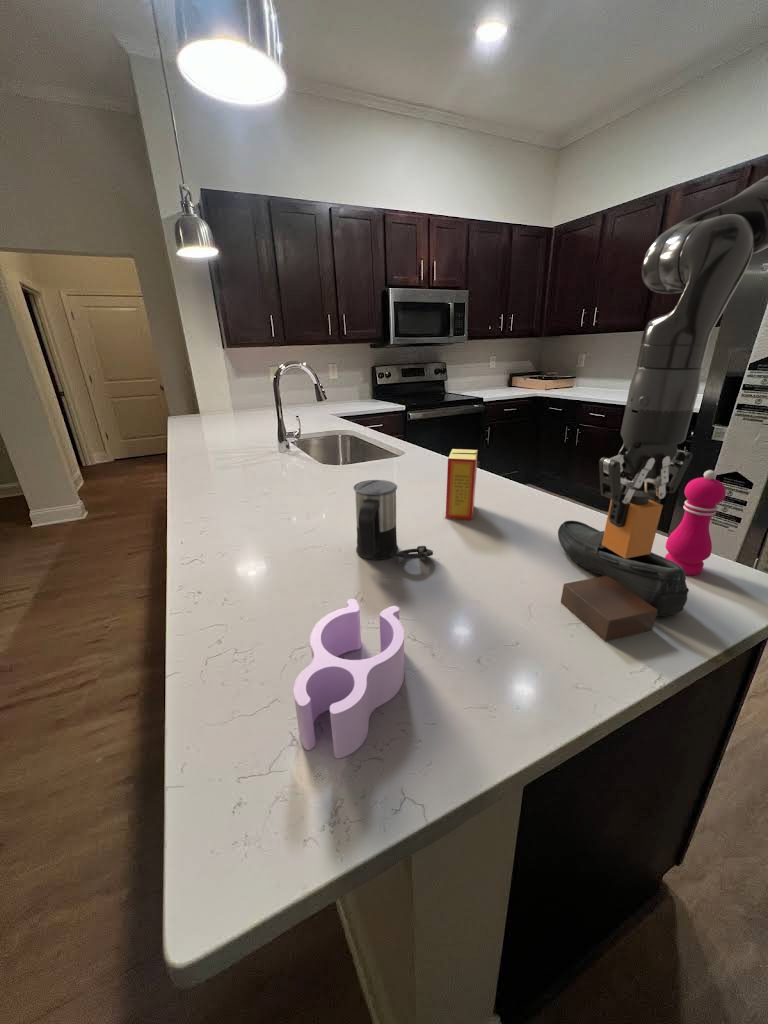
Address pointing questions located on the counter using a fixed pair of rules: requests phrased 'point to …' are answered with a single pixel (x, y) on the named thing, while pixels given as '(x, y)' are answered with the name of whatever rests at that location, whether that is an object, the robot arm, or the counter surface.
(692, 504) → the pepper mill
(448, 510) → the baking soda box
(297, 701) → the clip
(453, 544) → the counter surface
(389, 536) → the milk frother
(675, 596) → the loafer
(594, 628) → the box
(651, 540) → the orange square bottle
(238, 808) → the counter surface
